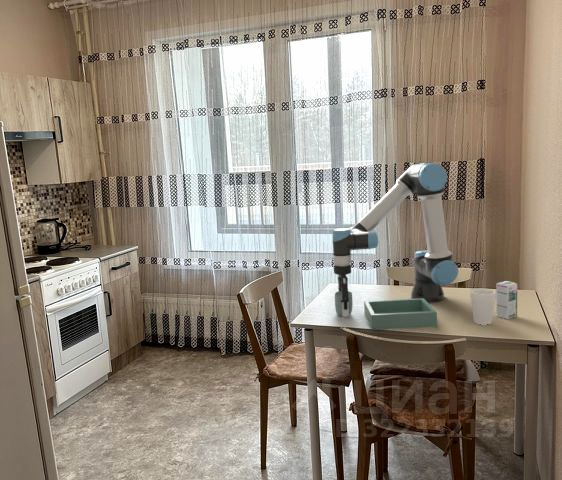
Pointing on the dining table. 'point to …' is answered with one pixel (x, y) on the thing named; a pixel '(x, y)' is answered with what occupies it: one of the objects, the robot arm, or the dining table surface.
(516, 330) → the dining table surface
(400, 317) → the tray
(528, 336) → the dining table surface
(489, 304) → the foam cup
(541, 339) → the dining table surface
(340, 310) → the cup
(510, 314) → the syrup box
